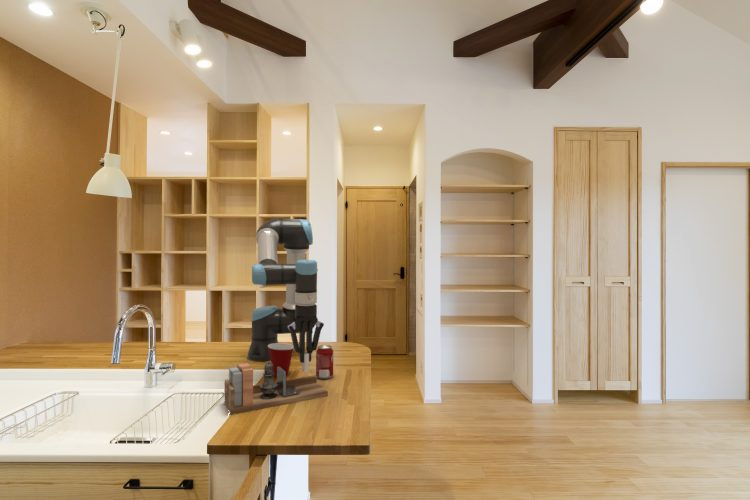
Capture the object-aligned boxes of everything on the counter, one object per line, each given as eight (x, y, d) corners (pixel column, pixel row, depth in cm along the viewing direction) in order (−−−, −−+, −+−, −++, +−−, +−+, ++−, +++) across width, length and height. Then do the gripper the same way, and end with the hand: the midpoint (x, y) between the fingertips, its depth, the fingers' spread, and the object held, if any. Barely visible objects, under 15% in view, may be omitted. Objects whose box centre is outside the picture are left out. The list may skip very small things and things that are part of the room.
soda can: (330, 380, 153) (330, 349, 153) (313, 379, 154) (313, 348, 154) (335, 374, 160) (335, 345, 160) (319, 373, 161) (319, 344, 161)
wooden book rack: (224, 402, 130) (224, 364, 130) (315, 386, 147) (315, 352, 147) (230, 414, 121) (231, 373, 121) (327, 395, 137) (328, 359, 137)
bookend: (276, 389, 137) (277, 366, 137) (293, 387, 140) (293, 364, 140) (283, 396, 131) (283, 372, 131) (300, 393, 134) (300, 369, 134)
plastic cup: (298, 376, 157) (298, 346, 157) (270, 380, 152) (270, 349, 152) (291, 369, 167) (291, 340, 167) (265, 372, 162) (265, 343, 162)
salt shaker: (271, 400, 128) (271, 363, 128) (255, 398, 130) (256, 361, 130) (281, 394, 134) (281, 358, 134) (266, 392, 136) (266, 357, 136)
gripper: (291, 307, 132) (290, 377, 133) (327, 304, 139) (326, 371, 139) (284, 303, 139) (283, 370, 139) (319, 301, 145) (318, 365, 146)
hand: (305, 371), depth 139 cm, fingers closed
